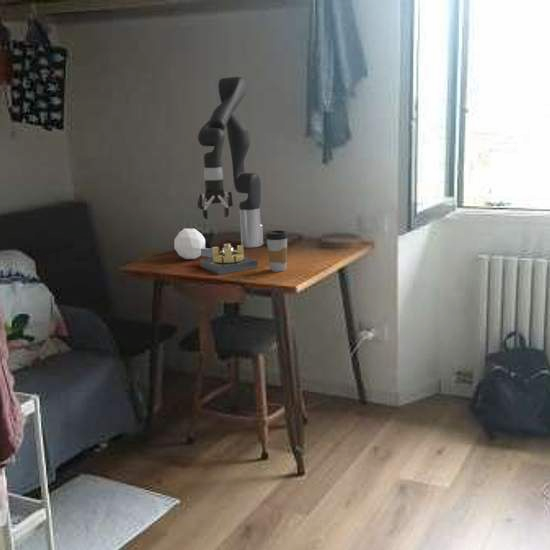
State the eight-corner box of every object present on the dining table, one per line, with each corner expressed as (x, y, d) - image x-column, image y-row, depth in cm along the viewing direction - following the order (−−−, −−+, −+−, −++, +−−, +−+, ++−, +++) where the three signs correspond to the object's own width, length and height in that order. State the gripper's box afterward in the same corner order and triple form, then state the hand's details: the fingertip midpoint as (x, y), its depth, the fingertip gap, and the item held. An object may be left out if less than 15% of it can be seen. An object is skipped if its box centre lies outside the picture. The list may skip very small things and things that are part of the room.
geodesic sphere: (162, 245, 312) (172, 222, 304) (187, 240, 322) (197, 217, 313) (180, 268, 306) (190, 245, 298) (205, 262, 316) (216, 240, 307)
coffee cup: (276, 266, 289) (275, 229, 286) (293, 268, 284) (291, 231, 281) (263, 270, 283) (261, 233, 280) (279, 273, 278) (278, 234, 274)
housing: (237, 260, 303) (236, 241, 301) (257, 267, 289) (256, 248, 287) (200, 266, 295) (199, 247, 293) (219, 274, 280) (218, 254, 279)
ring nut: (250, 257, 292) (249, 245, 290) (229, 264, 282) (228, 251, 281) (213, 252, 305) (212, 240, 303) (192, 258, 295) (191, 246, 294)
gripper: (227, 176, 301) (229, 215, 304) (194, 179, 296) (196, 218, 299) (233, 177, 294) (235, 217, 298) (199, 180, 289) (201, 220, 293)
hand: (216, 217), depth 298 cm, fingers open, 8 cm apart
